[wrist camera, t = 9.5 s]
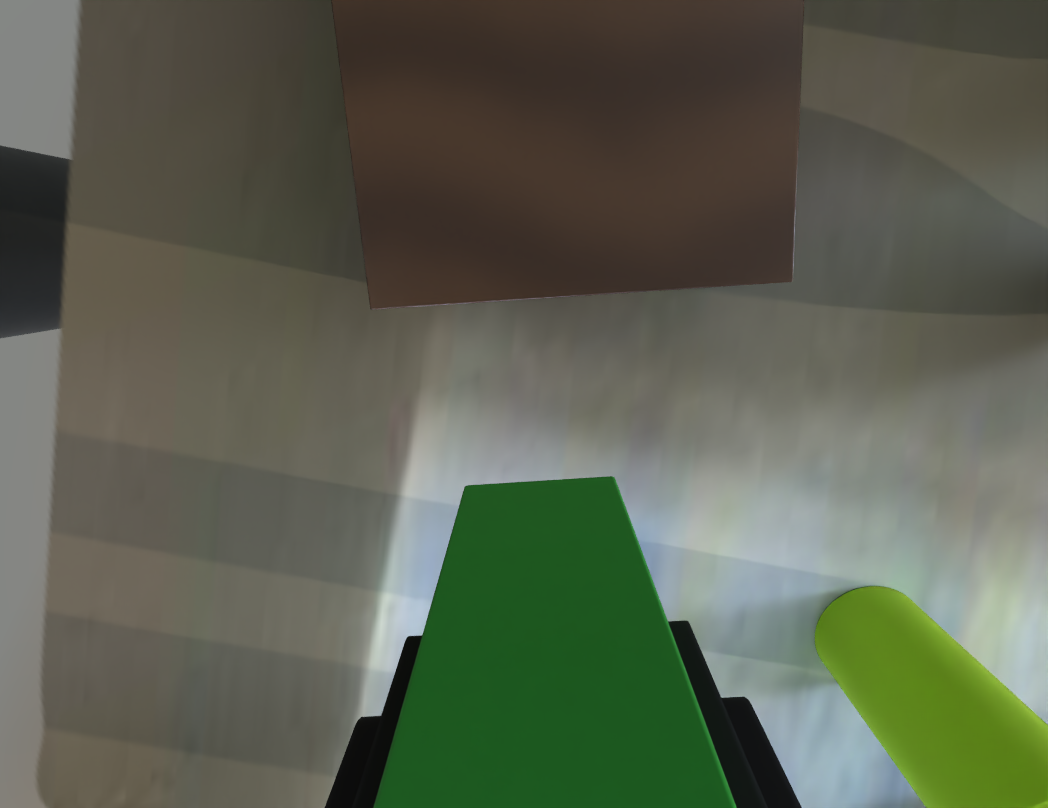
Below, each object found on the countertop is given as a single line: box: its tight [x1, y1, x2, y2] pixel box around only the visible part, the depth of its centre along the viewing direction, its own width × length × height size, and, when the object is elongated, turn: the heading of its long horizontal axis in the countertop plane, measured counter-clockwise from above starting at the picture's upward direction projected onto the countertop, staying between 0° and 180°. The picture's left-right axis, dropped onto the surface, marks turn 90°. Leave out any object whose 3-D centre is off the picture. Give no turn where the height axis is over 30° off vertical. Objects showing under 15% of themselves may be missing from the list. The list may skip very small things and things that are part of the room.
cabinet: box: [331, 0, 804, 310], centre depth 23 cm, size 15×15×9 cm
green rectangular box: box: [374, 476, 737, 808], centre depth 10 cm, size 5×4×9 cm
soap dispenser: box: [815, 586, 1048, 808], centre depth 24 cm, size 6×7×20 cm
